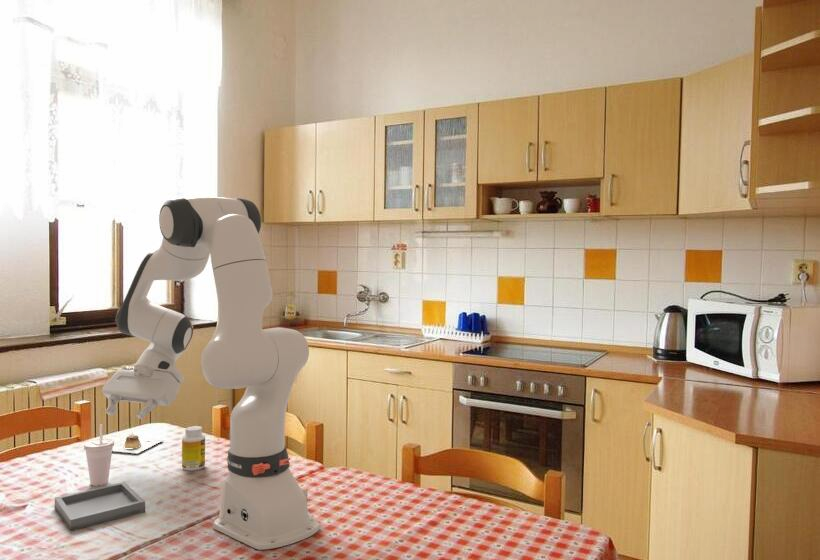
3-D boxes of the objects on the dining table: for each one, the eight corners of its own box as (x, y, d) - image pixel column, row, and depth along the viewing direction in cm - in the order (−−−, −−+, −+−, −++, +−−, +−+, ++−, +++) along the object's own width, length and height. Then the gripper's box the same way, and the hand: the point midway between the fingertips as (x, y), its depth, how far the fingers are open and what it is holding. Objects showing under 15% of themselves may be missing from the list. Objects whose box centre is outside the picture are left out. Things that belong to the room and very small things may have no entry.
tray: (145, 511, 125) (145, 501, 125) (70, 531, 116) (70, 520, 116) (124, 491, 136) (124, 481, 136) (54, 507, 126) (54, 497, 126)
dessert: (127, 440, 174) (127, 424, 174) (164, 443, 172) (164, 427, 172) (98, 453, 162) (98, 436, 162) (137, 457, 160) (137, 439, 160)
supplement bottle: (203, 470, 149) (203, 430, 149) (180, 472, 148) (180, 431, 148) (206, 463, 155) (206, 424, 154) (183, 464, 154) (183, 425, 153)
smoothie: (101, 489, 137) (101, 429, 136) (77, 486, 138) (77, 427, 137) (120, 479, 143) (120, 421, 142) (97, 476, 144) (96, 419, 144)
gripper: (114, 359, 157) (84, 404, 148) (178, 365, 151) (150, 412, 142) (127, 373, 162) (98, 417, 153) (190, 379, 155) (163, 426, 146)
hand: (124, 415), depth 147 cm, fingers open, 8 cm apart
